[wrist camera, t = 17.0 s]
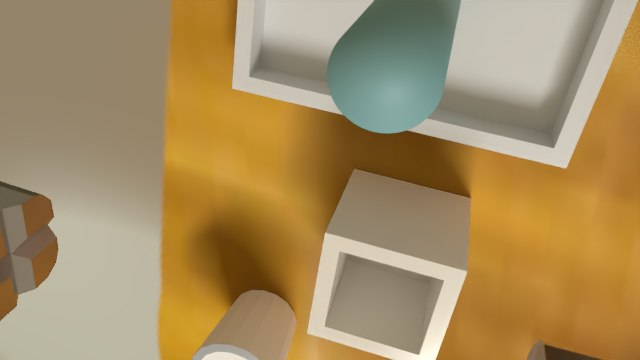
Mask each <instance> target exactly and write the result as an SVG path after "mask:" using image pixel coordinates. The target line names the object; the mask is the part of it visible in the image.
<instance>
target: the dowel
mask: <svg viewBox="0 0 640 360" xmlns="http://www.w3.org/2000/svg"><path fill="white" fill-rule="evenodd" d="M460 4H461V0H374V1H373V2H372V3H371V4H370V6H369V7H368V8H367V9H366V10H365V11H364V12H363V13H362V14H361V16H360V17H359V18H358V19H357V20H356V21H355V22H354V23H353V24H352V26H351V27H350V28H349V29H348V30H347V31H346V32H345V33H344V34H343V36H342V37H341V38H340V39H339V40H338V42H337V43H336V44H335V46H334V48H333V50H332V52H331V55H330V57H329V61H328V65H327V83H328V88H329V91H330V95H331V97H332V99H333V101H334V103H335V104H336V106H337V108H338V109H339V110H340V111H341V113H342V114H343V115H344V116H345V117H346V118H347V119H349V120H350V121H351V122H353V123H354V124H356V125H357V126H359V127H361V128H364V129H366V130H369V131H372V132H377V133H398V132H403V131H406V130H409V129H411V128H413V127H415V126H417V125H419V124H420V123H422V122H423V121H424V120H426V119H427V118H428V117H429V116H430V115H431V114H432V112H433V111H434V110H435V108H436V107H437V105H438V103H439V101H440V99H441V97H442V94H443V90H444V85H445V80H446V75H447V70H448V65H449V60H450V55H451V50H452V45H453V40H454V34H455V29H456V24H457V19H458V14H459V9H460Z"/></svg>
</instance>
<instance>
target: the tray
mask: <svg viewBox="0 0 640 360" xmlns="http://www.w3.org/2000/svg"><path fill="white" fill-rule="evenodd" d="M373 1H374V0H238V6H237V22H236V38H235V54H234V70H233V86H232V89H237V90H241V91H245V92H249V93H253V94H257V95H262V96H266V97H270V98H274V99H278V100H282V101H287V102H291V103H295V104H299V105H303V106H307V107H312V108H316V109H320V110H324V111H328V112H332V113H337V114H341V115H343V114H342V113H341V111H340V110H339V109H338V108H337V106H336V104H335V103H334V101H333V99H332V97H331V95H330V91H329V88H328V83H327V65H328V61H329V57H330V55H331V52H332V50H333V48H334V46H335V44H336V43H337V42H338V40H339V39H340V38H341V37H342V36H343V34H344V33H345V32H346V31H347V30H348V29H349V28H350V27H351V26H352V24H353V23H354V22H355V21H356V20H357V19H358V18H359V17H360V16H361V14H362V13H363V12H364V11H365V10H366V9H367V8H368V7H369V6H370V4H371V3H372V2H373ZM637 2H638V0H461V4H460V9H459V14H458V19H457V24H456V29H455V34H454V40H453V45H452V50H451V55H450V60H449V65H448V70H447V75H446V80H445V85H444V90H443V94H442V97H441V99H440V101H439V103H438V105H437V107H436V108H435V110H434V111H433V112H432V114H431V115H430V116H429V117H428V118H427V119H426V120H424V121H423V122H422V123H420V124H419V125H417V126H415V127H413V128H411V129H409V130H408V131H412V132H416V133H420V134H424V135H428V136H433V137H437V138H441V139H445V140H449V141H453V142H458V143H462V144H466V145H470V146H474V147H479V148H483V149H487V150H491V151H495V152H499V153H504V154H508V155H512V156H516V157H520V158H524V159H529V160H533V161H537V162H541V163H545V164H549V165H554V166H558V167H562V168H566V167H567V165H568V163H569V160H570V158H571V156H572V153H573V151H574V149H575V146H576V144H577V142H578V139H579V137H580V135H581V132H582V130H583V128H584V125H585V123H586V121H587V118H588V116H589V114H590V111H591V109H592V107H593V104H594V102H595V100H596V97H597V95H598V93H599V90H600V88H601V86H602V83H603V81H604V79H605V76H606V74H607V72H608V69H609V67H610V65H611V62H612V60H613V58H614V55H615V53H616V51H617V48H618V46H619V44H620V41H621V39H622V37H623V34H624V32H625V30H626V27H627V25H628V23H629V20H630V18H631V16H632V13H633V11H634V9H635V6H636V4H637Z"/></svg>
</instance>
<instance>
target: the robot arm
mask: <svg viewBox="0 0 640 360" xmlns="http://www.w3.org/2000/svg"><path fill="white" fill-rule="evenodd" d="M53 217H54V215H53V209H52V203H51V200H50V199H48V198H47V197H45V196H44V195H41V194H38V193H35V192H32V191H29V190H26V189H23V188H20V187H16V186H13V185H10V184H7V183H4V182H1V181H0V320H1V319H3V318H4V317H5V316H6V315H7V314H8V313H9V312H10V311H11V310H13V309H14V308H15V307H16V306H17V299H18V295H19V294H22V293H25V292H27V291H30V290H33V289H36V288H37V287H38V286H39V285H40V284H41V283H42V282H43V281H44V280H45V279H46V278H47V277H48V276H49V274H50V272H51V270H52V268H53V267H54V265H55V263H56V259H57V253H58V243H57V237H56V236H55V234H54V233H53V232H52V230H51V229H50V227H49V226H48V224H49V222H50V221H51V220H52V219H53ZM527 360H608V359H605V358H602V357H598V356H595V355H591V354H588V353H584V352H581V351H577V350H574V349H570V348H567V347H563V346H560V345H556V344H552V343H549V342H545V341H542V340H538V341H537V342H536V343H535V344H534V345H533V347H532V349H531V351H530V353H529V355H528V357H527Z"/></svg>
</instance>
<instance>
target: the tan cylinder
mask: <svg viewBox="0 0 640 360" xmlns="http://www.w3.org/2000/svg"><path fill="white" fill-rule="evenodd" d="M296 324H297V321H296V317H295V313H294V311H293V310H292V308H291V307H290V306H289V304H288V303H287V302H286V301H284V300H283V299H282V298H280V297H279V296H278V295H276V294H273V293H270V292H268V291H265V290H250V291H247V292H245V293H242V294H241V295H240V296H239V297H238V298H237V299H236V301H235V302H234V303H233V305H232V306H231V307H230V308H229V310H228V311H227V312H226V314H225V315H224V316H223V318H222V319H221V320H220V322H219V323H218V324H217V326H216V327H215V328H214V330H213V331H212V332H211V333H210V335H209V336H208V337H207V339H206V340H205V341H204V343H203V344H202V345H201V347H200V348H199V349H198V351H197V352H196V353H195V354H194V356H193V358H192V360H286V359H287V355H288V352H289V348H290V345H291V341H292V338H293V335H294V331H295V327H296Z"/></svg>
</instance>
